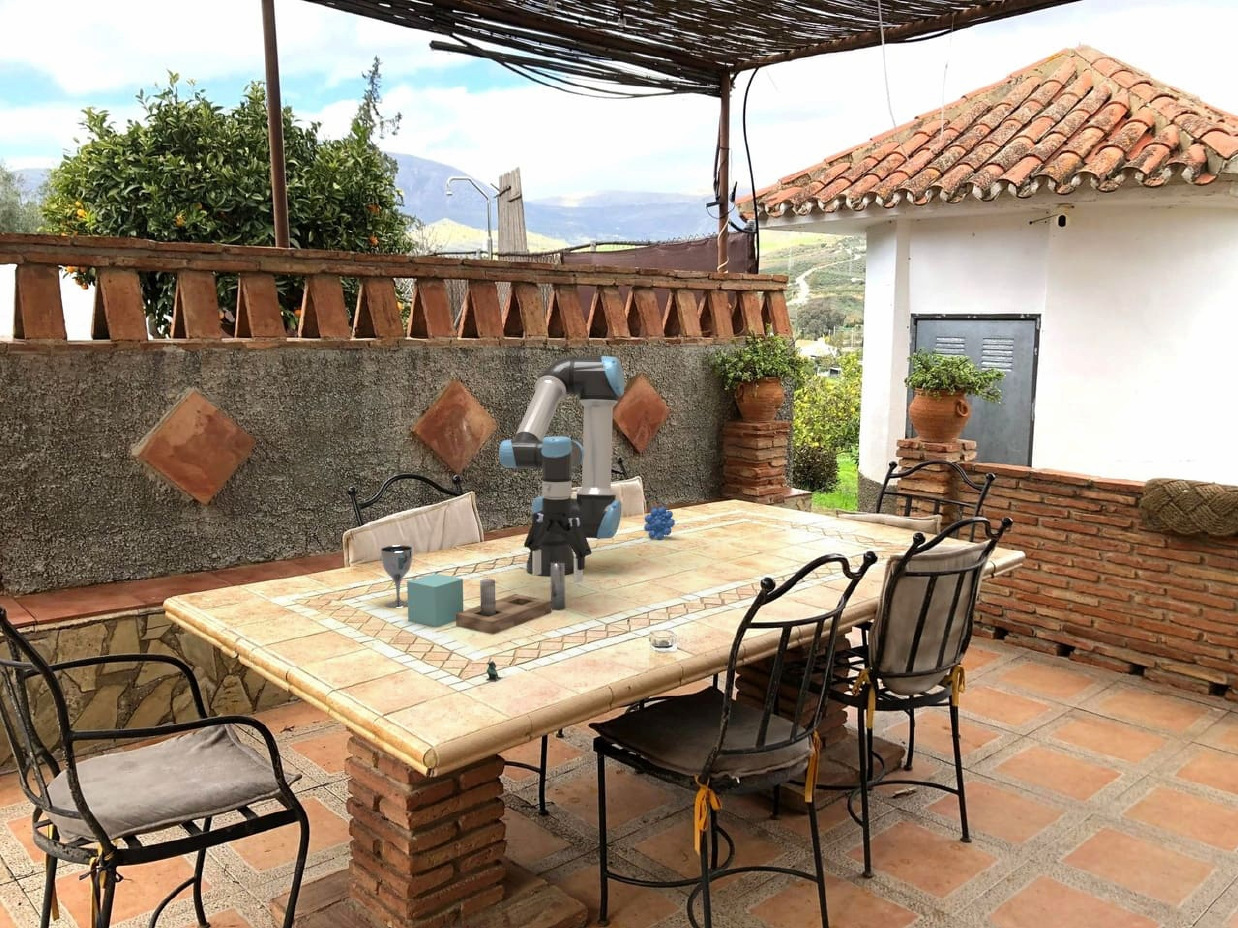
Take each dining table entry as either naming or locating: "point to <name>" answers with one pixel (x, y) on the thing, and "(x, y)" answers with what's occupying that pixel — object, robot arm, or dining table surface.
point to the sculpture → (492, 672)
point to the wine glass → (397, 568)
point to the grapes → (659, 522)
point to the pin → (557, 585)
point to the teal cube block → (434, 599)
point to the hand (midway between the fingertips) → (557, 578)
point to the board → (501, 610)
